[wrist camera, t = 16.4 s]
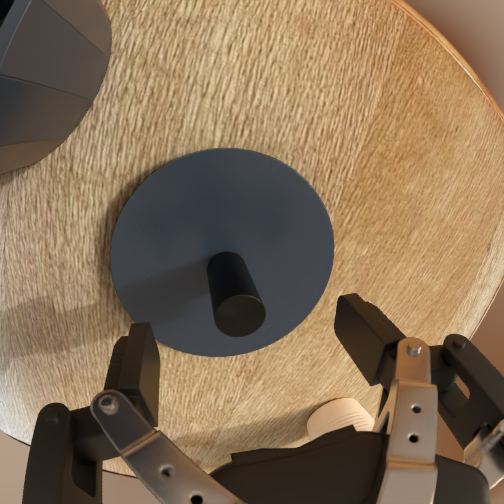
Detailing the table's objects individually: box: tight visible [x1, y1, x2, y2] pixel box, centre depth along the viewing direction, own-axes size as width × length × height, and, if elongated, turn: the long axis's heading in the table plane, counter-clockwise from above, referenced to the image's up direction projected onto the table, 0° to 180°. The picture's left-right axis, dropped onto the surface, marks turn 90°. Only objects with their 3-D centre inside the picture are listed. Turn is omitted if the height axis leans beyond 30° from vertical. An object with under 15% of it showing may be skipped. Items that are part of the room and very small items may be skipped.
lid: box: [110, 148, 334, 357], centre depth 15 cm, size 14×14×6 cm
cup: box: [307, 398, 375, 441], centre depth 22 cm, size 10×10×11 cm
